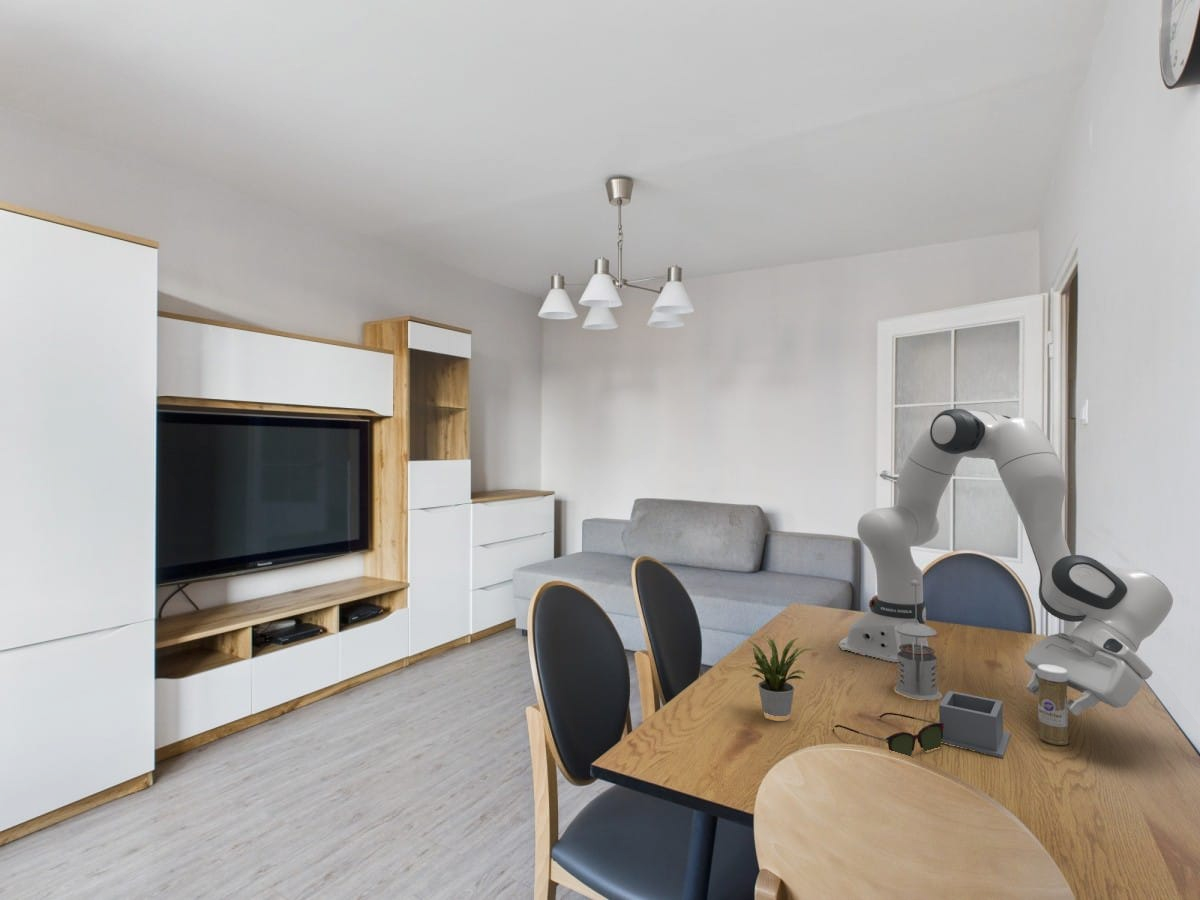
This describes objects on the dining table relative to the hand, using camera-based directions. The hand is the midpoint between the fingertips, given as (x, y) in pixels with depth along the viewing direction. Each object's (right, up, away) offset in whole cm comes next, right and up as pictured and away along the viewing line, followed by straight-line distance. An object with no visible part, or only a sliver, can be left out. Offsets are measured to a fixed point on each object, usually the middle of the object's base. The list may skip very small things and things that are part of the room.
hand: (1049, 701), depth 116 cm
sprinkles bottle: (+1, -7, 0) cm, 8 cm away
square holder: (-14, -7, +1) cm, 16 cm away
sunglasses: (-30, -8, +2) cm, 31 cm away
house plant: (-45, -8, +13) cm, 48 cm away
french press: (-13, -8, +23) cm, 28 cm away
